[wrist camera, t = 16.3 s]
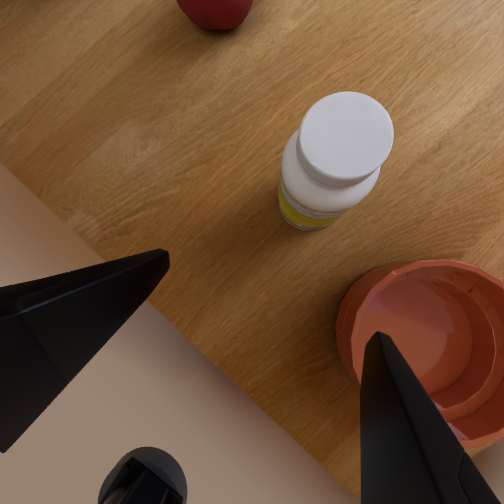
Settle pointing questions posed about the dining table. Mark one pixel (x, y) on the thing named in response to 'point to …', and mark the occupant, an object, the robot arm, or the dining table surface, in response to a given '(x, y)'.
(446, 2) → the dining table surface
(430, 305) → the bowl
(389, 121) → the pill bottle
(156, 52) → the dining table surface
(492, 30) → the dining table surface
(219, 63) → the dining table surface
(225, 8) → the tomato
